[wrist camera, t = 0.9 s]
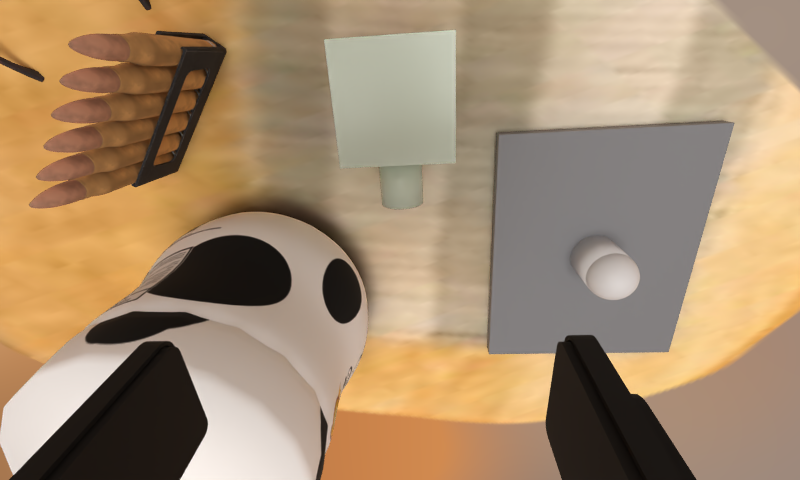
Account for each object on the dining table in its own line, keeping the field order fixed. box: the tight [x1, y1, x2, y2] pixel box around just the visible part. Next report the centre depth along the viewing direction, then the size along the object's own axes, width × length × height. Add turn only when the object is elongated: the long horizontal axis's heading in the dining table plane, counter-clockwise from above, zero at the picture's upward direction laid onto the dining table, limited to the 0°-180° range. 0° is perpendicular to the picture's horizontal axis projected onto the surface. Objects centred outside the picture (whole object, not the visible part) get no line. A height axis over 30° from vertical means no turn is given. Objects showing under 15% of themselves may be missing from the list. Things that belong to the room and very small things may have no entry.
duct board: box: [487, 121, 734, 354], centre depth 29 cm, size 20×16×6 cm
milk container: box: [0, 212, 368, 480], centre depth 27 cm, size 17×17×18 cm
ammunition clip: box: [29, 31, 226, 208], centre depth 23 cm, size 11×2×12 cm, turn 147°
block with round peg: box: [324, 30, 456, 209], centre depth 25 cm, size 10×7×7 cm
